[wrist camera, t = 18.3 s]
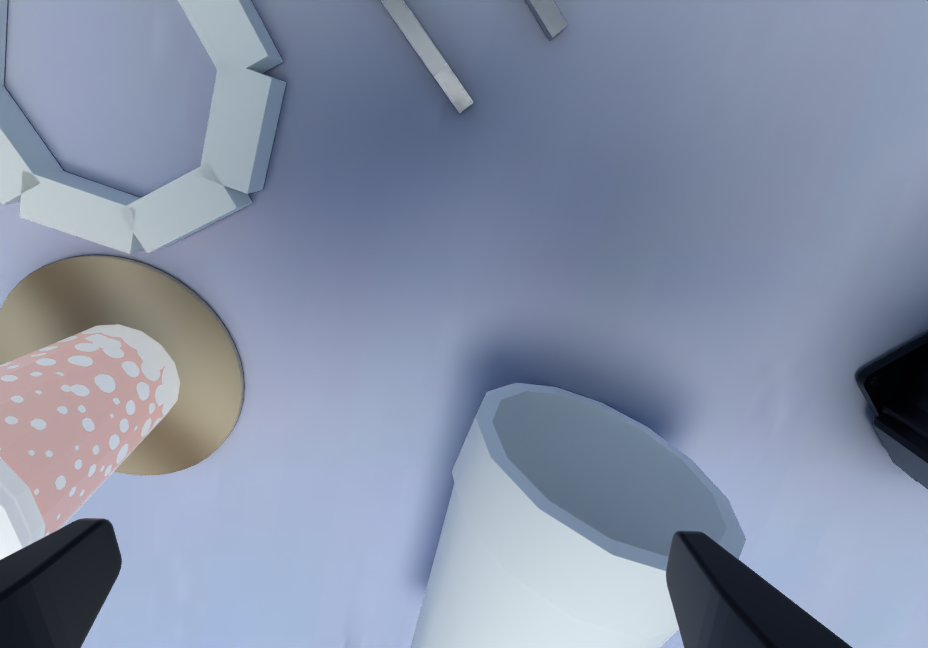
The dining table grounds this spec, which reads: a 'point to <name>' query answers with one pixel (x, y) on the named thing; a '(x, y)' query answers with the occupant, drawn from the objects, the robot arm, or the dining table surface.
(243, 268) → the dining table surface
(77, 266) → the coaster
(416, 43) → the rail
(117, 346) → the beverage cup
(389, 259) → the dining table surface
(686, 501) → the foam cup
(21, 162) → the socket
